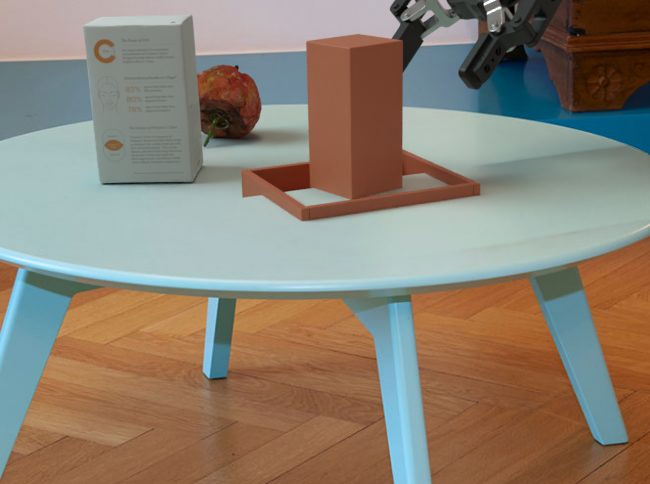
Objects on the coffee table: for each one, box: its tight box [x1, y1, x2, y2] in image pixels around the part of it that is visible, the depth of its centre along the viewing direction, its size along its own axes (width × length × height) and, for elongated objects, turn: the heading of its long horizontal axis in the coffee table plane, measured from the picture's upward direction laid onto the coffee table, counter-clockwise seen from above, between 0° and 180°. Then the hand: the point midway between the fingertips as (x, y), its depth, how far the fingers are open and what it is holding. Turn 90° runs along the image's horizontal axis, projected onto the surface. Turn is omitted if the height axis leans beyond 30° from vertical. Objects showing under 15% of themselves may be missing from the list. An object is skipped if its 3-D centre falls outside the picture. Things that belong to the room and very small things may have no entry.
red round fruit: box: [197, 64, 263, 148], centre depth 108 cm, size 7×7×10 cm
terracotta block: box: [305, 33, 404, 200], centre depth 84 cm, size 5×5×12 cm
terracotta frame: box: [240, 149, 481, 222], centre depth 86 cm, size 14×12×3 cm
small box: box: [82, 14, 204, 184], centre depth 95 cm, size 8×6×13 cm
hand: (427, 75), depth 87 cm, fingers open, 8 cm apart
